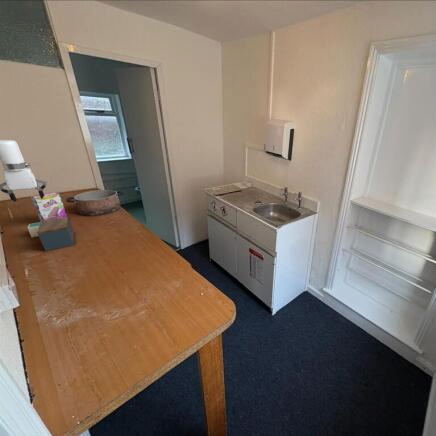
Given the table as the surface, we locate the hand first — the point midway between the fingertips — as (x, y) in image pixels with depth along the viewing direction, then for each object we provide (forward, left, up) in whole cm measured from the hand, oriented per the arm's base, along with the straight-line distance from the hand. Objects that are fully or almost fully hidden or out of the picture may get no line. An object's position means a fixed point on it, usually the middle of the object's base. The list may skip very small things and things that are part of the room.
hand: (29, 199), depth 121 cm
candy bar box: (+5, +12, -18) cm, 22 cm away
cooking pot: (+27, +20, -18) cm, 38 cm away
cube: (0, -5, -18) cm, 19 cm away
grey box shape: (+9, -21, -18) cm, 29 cm away
